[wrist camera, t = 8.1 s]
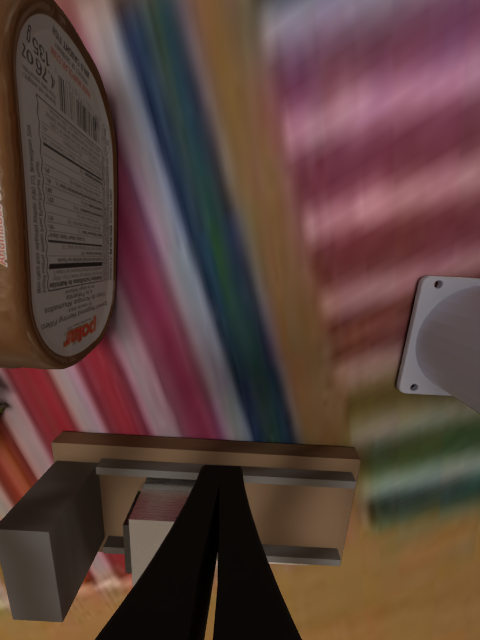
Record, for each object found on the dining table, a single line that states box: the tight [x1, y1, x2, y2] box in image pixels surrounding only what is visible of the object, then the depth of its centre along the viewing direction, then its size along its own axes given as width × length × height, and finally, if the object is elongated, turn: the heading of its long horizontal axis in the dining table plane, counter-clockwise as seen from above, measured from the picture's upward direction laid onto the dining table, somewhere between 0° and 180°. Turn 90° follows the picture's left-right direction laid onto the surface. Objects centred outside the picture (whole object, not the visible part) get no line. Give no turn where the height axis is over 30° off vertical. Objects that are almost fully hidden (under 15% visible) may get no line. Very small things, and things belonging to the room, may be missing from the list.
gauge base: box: [0, 431, 361, 622], centre depth 17 cm, size 22×10×6 cm, turn 87°
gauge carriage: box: [123, 477, 196, 587], centre depth 18 cm, size 6×8×3 cm
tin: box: [0, 0, 117, 369], centre depth 12 cm, size 15×3×8 cm, turn 173°
